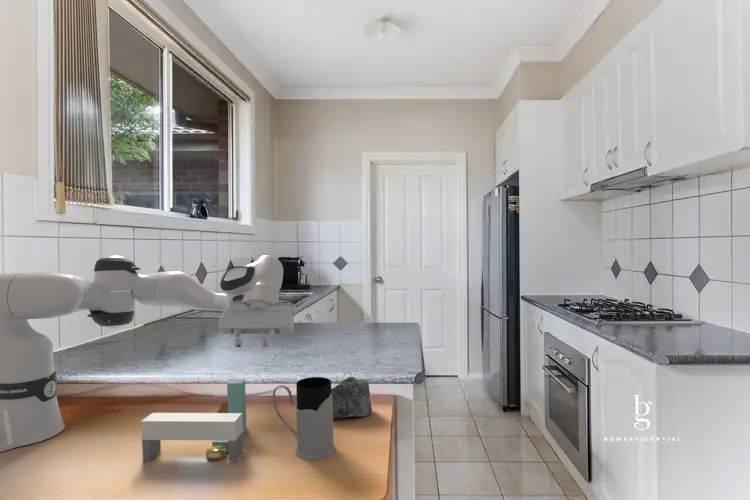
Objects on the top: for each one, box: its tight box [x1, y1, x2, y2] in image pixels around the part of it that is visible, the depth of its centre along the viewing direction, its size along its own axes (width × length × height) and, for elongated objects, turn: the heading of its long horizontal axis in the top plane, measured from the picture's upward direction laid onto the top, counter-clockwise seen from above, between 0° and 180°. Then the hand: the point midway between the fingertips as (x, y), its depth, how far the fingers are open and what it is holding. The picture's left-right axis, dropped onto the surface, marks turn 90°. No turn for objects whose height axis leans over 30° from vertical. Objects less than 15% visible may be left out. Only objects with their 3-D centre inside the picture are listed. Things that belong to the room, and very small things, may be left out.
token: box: [205, 445, 227, 463], centre depth 101 cm, size 4×4×2 cm
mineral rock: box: [331, 376, 373, 419], centre depth 122 cm, size 13×11×10 cm
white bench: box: [140, 412, 244, 462], centre depth 101 cm, size 20×4×8 cm, turn 87°
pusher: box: [211, 379, 248, 452], centre depth 109 cm, size 4×12×12 cm, turn 177°
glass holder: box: [272, 376, 336, 461], centre depth 103 cm, size 9×14×15 cm, turn 74°
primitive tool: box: [216, 401, 228, 413], centre depth 123 cm, size 19×6×4 cm, turn 6°
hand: (251, 346), depth 125 cm, fingers open, 6 cm apart
